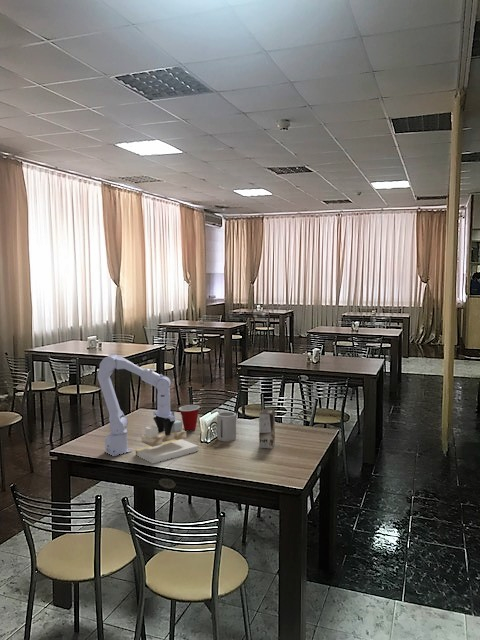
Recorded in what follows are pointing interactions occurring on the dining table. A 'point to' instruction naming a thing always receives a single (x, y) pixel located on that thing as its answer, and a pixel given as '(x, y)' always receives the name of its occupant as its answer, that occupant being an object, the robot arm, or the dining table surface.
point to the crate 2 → (177, 426)
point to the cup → (226, 426)
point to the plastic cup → (189, 416)
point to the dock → (166, 450)
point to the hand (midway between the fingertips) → (164, 433)
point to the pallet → (163, 438)
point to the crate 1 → (151, 432)
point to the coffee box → (266, 428)
